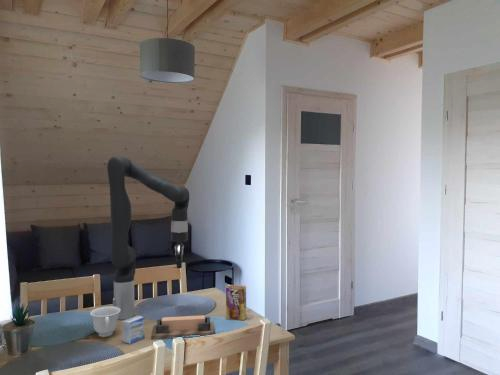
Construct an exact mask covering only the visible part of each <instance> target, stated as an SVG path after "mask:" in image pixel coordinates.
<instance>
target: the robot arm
mask: <svg viewBox="0 0 500 375" xmlns="http://www.w3.org/2000/svg"><path fill="white" fill-rule="evenodd" d="M106 168H107V178H108V184H109V197H110V200H109V202H110V225H111V226H110V229H111V243H110V244H111V245H110V247H111V248H110V262H111V263H112V265H113V267H115V269H116V270H115V271H114V274H113V298H112V306H114V307H118V308H120V312H119V315H118V321H119V320H122V321H125V320H127V319H130V318H132V317H135V316H136V315H135V312H136V311H135V276H136V270H137V269H136V267H137V266H136V263H137V259H136V258H137V256H136V251H135V249H134V248H133V247H132V246H130V245H129V244H128V236H129V231H130V228H131V222H132V204H131V203H132V202H131V201H130V198H129V195H128V193H127V190H126V184H125V177H128V178H130V179H133V180H136V181H138V182H140V183H141V184H143V185H144V186H145V187H146V188H148V189H150V190H151V191H153V192H156V193H158V194H160V195H162V196H164V197H165V198H167V199H168V200H169V201H171V202H174V207H173V208H172V210H171V223H170V224H171V225H170V241H172V243H174V242H175V243H176V244H174V251H175V252H174V253H175V254H174V255H175V260H176V268H177V269H182V265H183V264H182V261H183V255H184V248H185V245H184V244H183V242H187V241H188V238H189V235H188V234H189V231H188V230H189V228H188V227H189V225H188V208H189V202H190V192H189V189H188V188H187V187H185V186H176V185H174V184H172V183H171V182H170V181H169V180H167V179H166V178H163V177H162V176H160V175H158V174H155V173H152V172H151V171H149V170H146V169H145V168H143V167H141V166H140V165H138V164H137V163H135V162H133V161H132V160H131V159H129V158H128V157H125V156H112V157H110V159H108V161H107V164H106Z"/></svg>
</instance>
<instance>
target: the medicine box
mask: <svg viewBox="0 0 500 375" xmlns="http://www.w3.org/2000/svg"><path fill="white" fill-rule="evenodd" d="M121 326H122V342H123V343H124V344H125V343H126V344H129V345H132V344H135V343H136V342H138V341H140V340H142V339H144V338H145V337H146V336H145V317H144V316H141V315H135V316H134V317H132V318H129V319H124V320H122V325H121Z"/></svg>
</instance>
